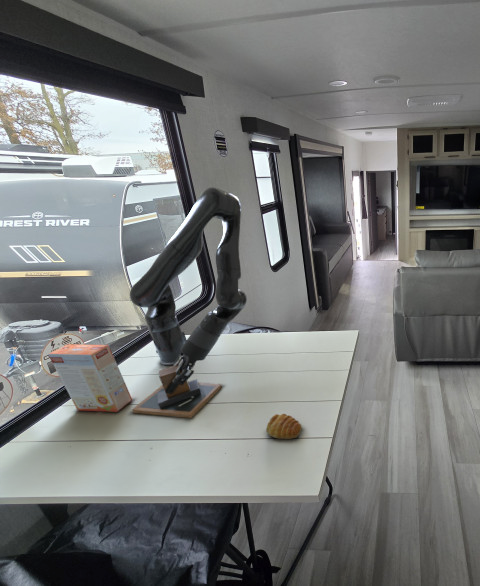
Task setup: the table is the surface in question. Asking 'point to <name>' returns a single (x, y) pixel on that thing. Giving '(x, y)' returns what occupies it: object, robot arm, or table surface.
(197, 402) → the board
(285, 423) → the pastry
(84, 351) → the cracker box
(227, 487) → the table surface
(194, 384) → the eraser
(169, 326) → the robot arm
